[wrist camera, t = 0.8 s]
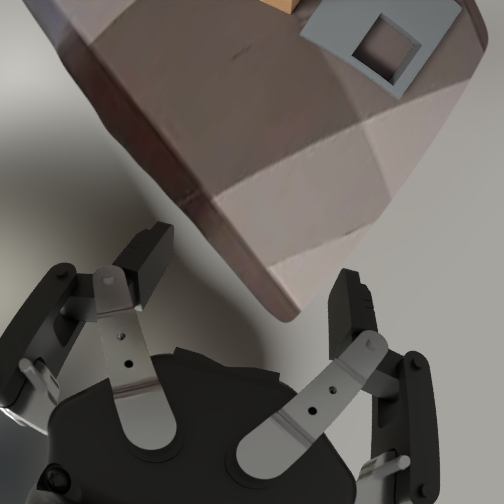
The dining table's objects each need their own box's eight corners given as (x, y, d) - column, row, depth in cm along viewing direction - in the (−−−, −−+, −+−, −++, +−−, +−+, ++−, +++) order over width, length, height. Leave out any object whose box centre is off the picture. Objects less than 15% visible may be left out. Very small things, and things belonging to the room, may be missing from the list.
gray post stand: (298, 35, 27) (304, 26, 17) (364, -57, 17) (395, -92, 7) (391, 96, 30) (434, 121, 20) (452, 9, 20) (510, 6, 10)
